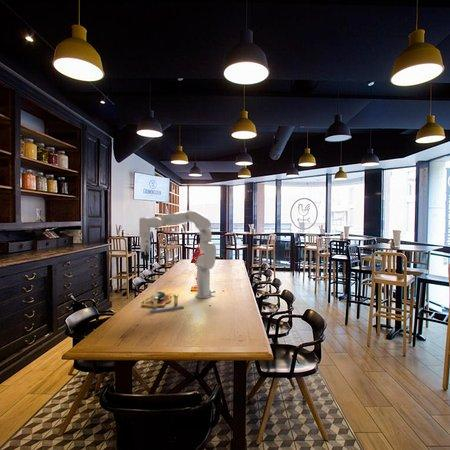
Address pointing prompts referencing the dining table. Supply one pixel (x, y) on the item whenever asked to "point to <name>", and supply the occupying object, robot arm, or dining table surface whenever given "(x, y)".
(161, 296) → the decorative plaque
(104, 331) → the dining table surface
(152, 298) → the post
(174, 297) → the post
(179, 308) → the wall strip
